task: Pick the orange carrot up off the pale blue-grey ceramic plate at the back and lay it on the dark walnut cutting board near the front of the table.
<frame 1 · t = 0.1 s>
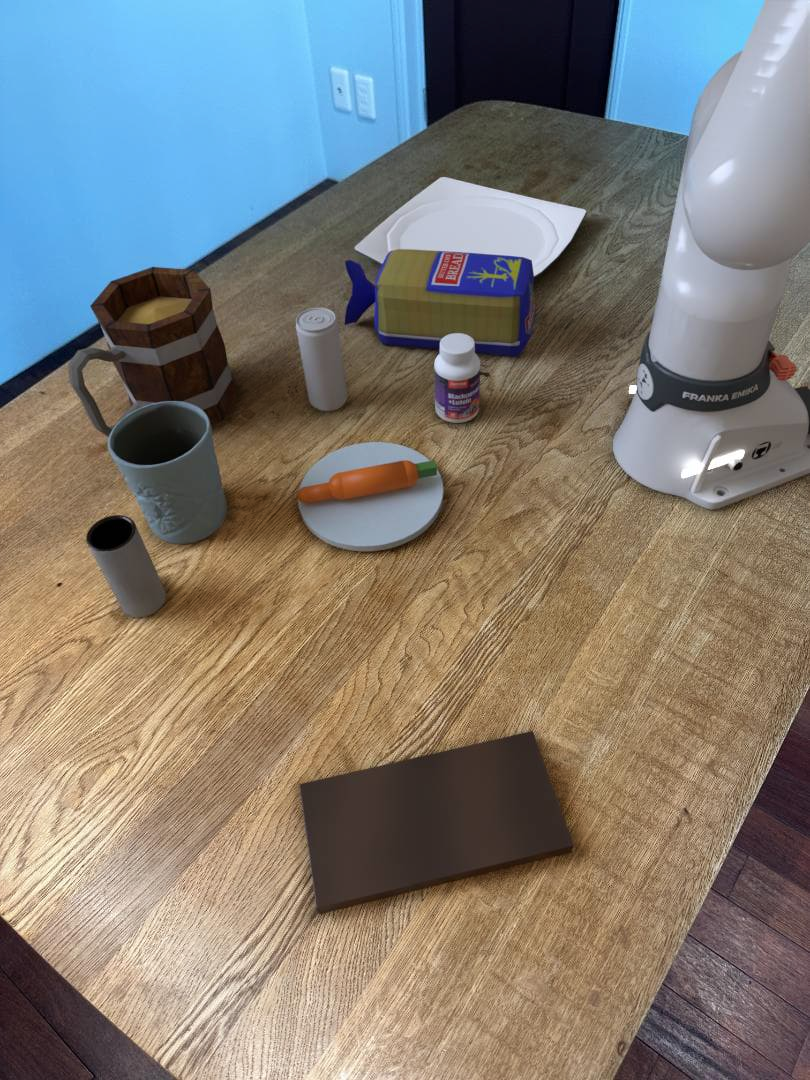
side plate: (371, 498, 90), on the table
blue cup: (189, 515, 90), on the table
beverage can: (329, 402, 101), on the table
carrot: (370, 490, 89), point 1 cm above the table, touching side plate
mug: (167, 416, 101), on the table
grey hollow cylinder: (144, 601, 82), on the table
pill bottle: (457, 411, 99), on the table
cutting board: (432, 821, 65), on the table
plate: (471, 246, 124), on the table
bread: (441, 334, 110), on the table
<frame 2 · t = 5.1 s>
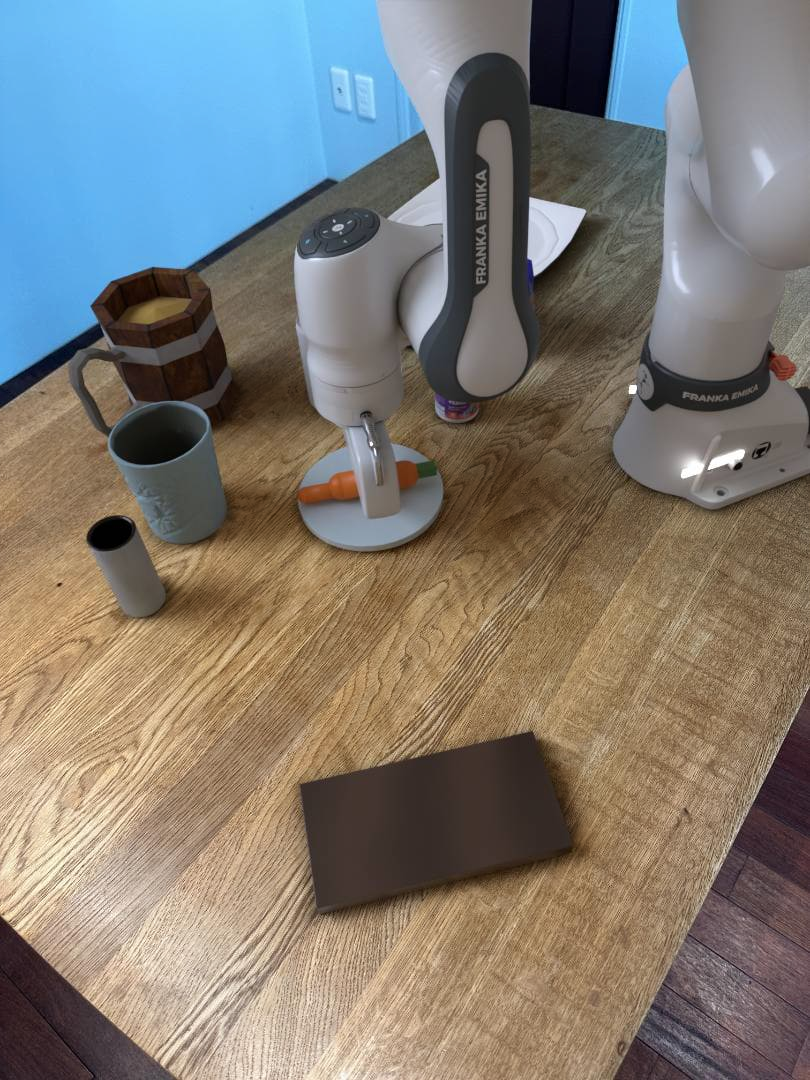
hand: (369, 485, 88), 2 cm above the table, tool pointing down, fingers closed on carrot, 3 cm apart
carrot: (370, 490, 89), point 1 cm above the table, touching gripper, side plate
everything else where it was.
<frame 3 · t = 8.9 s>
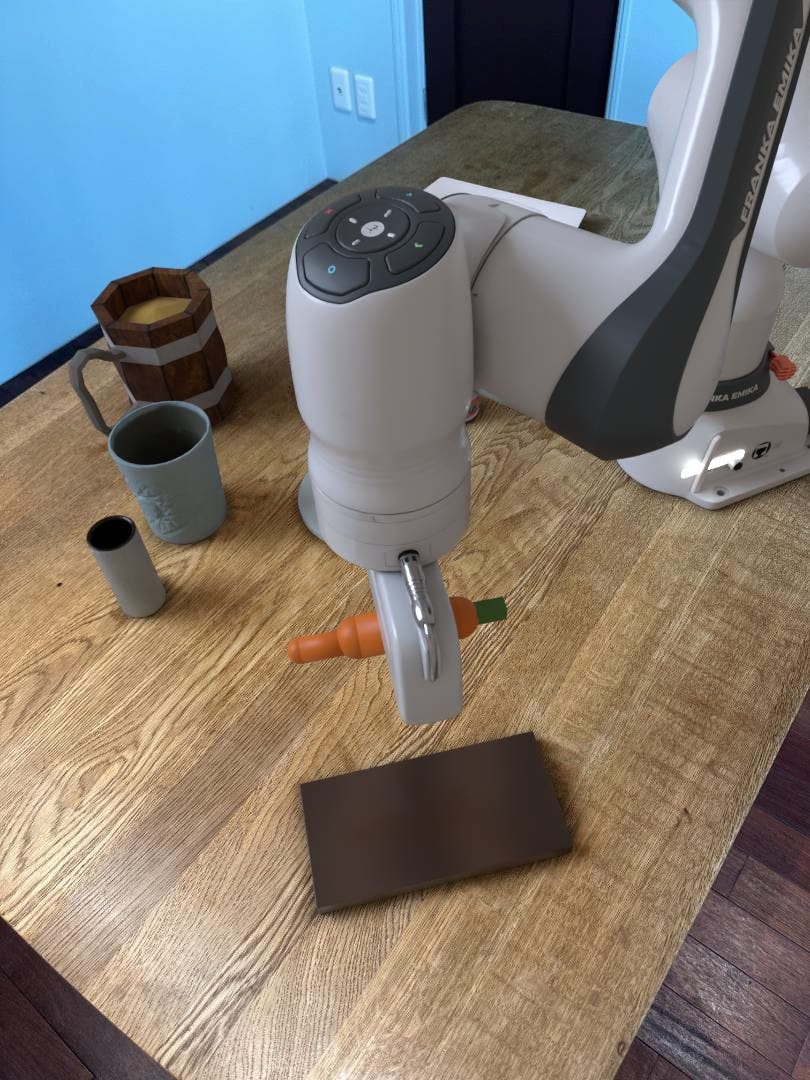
hand: (402, 634, 56), 18 cm above the table, tool pointing down, fingers closed on carrot, 3 cm apart
carrot: (401, 641, 57), point 17 cm above the table, touching gripper
everything else where it was.
when the fingers open (2 cm above the table, at t = 13.0 s): carrot stays where it is, resting on cutting board.
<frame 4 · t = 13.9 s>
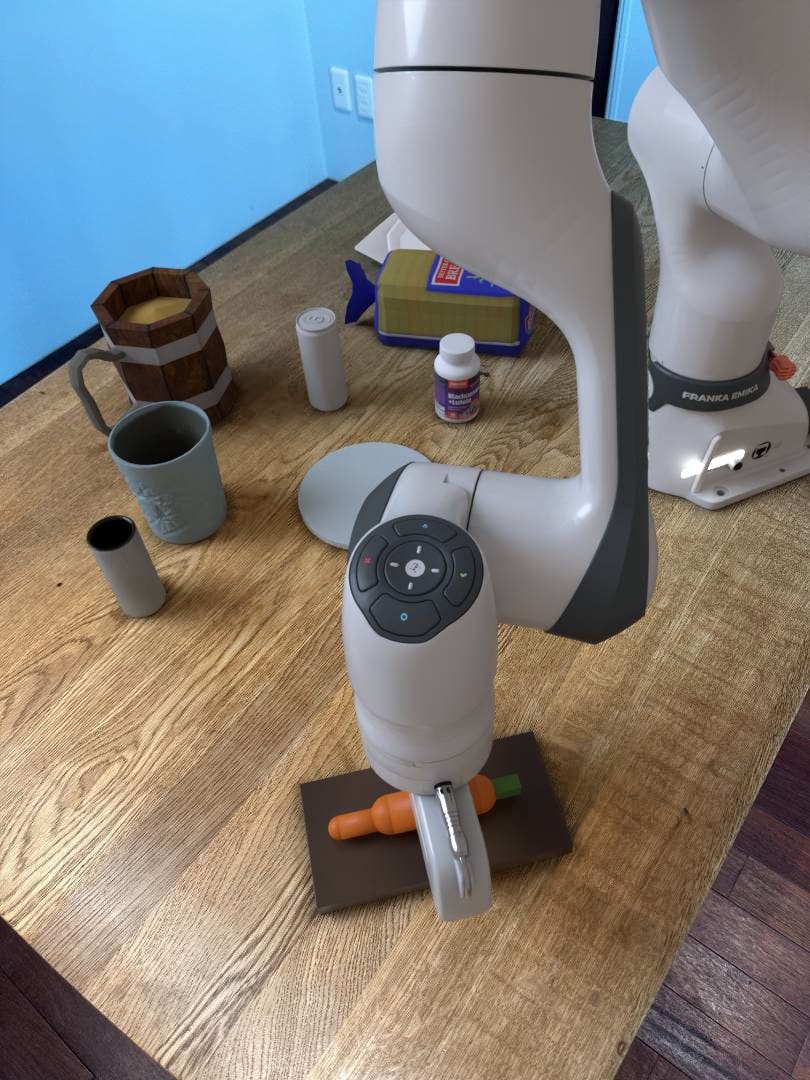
hand: (432, 807, 63), 3 cm above the table, tool pointing down, fingers open, 8 cm apart
carrot: (428, 814, 64), point 2 cm above the table, touching cutting board
everything else where it was.
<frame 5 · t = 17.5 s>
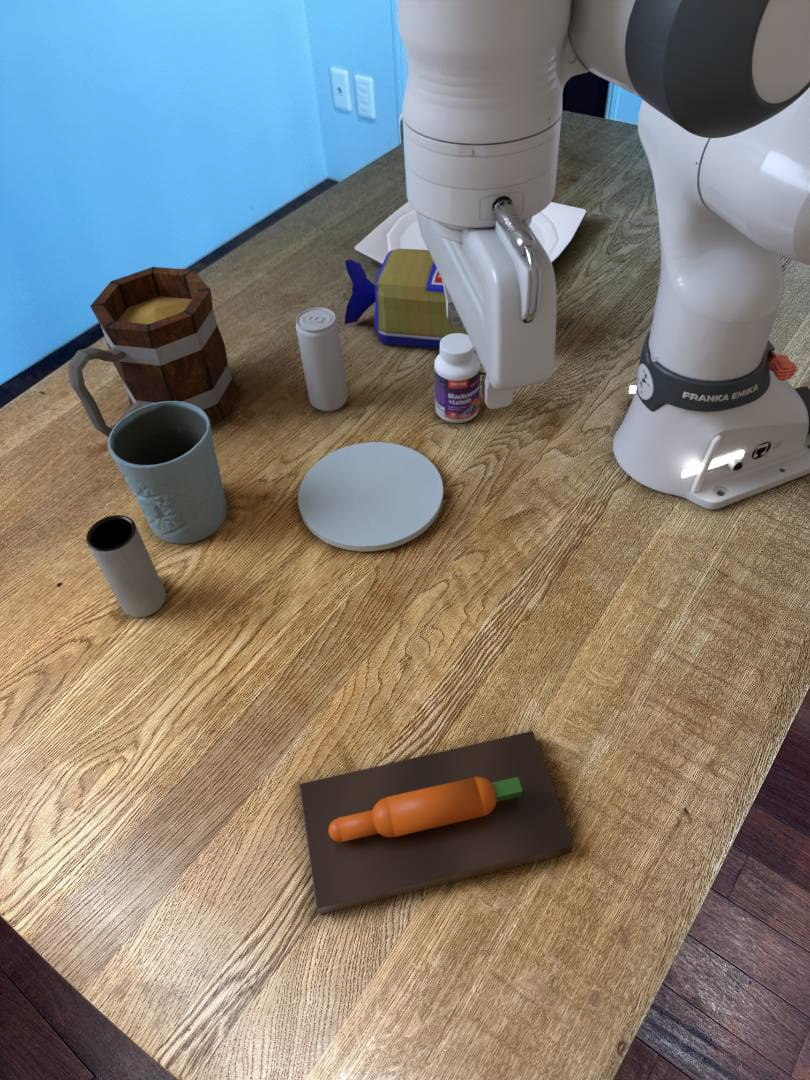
hand: (477, 360, 58), 29 cm above the table, tool pointing down, fingers open, 8 cm apart
nothing on the table moved.
at the end: carrot inside the target area on the cutting board (0.3 cm from its centre), point 1.5 cm above the cutting board's base; carrot touching cutting board; the gripper is holding nothing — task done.
